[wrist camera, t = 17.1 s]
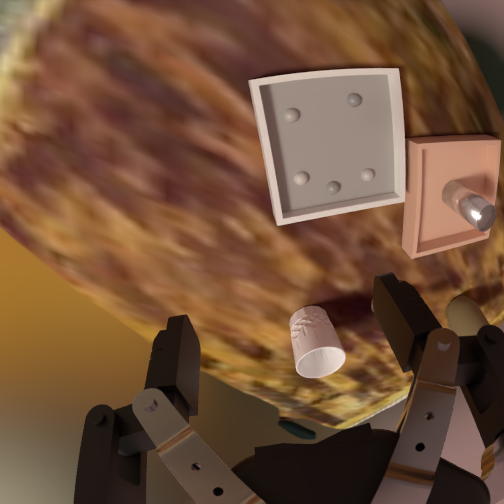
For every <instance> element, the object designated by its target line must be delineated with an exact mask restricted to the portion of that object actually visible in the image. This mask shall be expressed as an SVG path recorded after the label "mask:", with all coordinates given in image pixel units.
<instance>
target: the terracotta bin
mask: <svg viewBox="0 0 504 504" xmlns="http://www.w3.org/2000/svg"><path fill="white" fill-rule="evenodd" d="M500 150H501V140H499V139H497V138H494V137H492V136H489V135H448V136H429V137H414V138H405V202H404V222H403V237H402V248H403V249H404V251H405V252H406V253H407V254H408V255H409V256H410V258H411V259H413V258H417V257H421V256H425V255H429V254H432V253H436V252H440V251H444V250H447V249H451V248H455V247H458V246H462V245H466V244H469V243H473V242H476V241H480V240H483V239H487V238H489V233H490V228H491V227H490V228H489V229H488V230H487V231H485V232H479V231H478V230H477V229H476V228H475V227H473V226H472V225H471V224H470V223H469V222H467V221H466V220H465V219H464V218H462V217H461V216H460V215H459V214H457V213H456V212H455V211H453V210H452V209H451V208H450V207H448V206H447V205H446V204H444V202H443V201H442V190H443V188H444V186H445V184H446V183H447V182H449V181H451V180H456V181H458V182H460V183H461V184H463V185H465V186H466V187H468V188H469V189H471V190H472V191H474V192H475V193H477V194H478V195H480V196H481V197H483V198H484V199H486V200H487V201H489V202H490V203H492V204H493V205H495V199H496V192H497V184H498V175H499V164H500Z"/></svg>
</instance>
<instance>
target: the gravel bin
mask: <svg viewBox="0 0 504 504" xmlns="http://www.w3.org/2000/svg"><path fill="white" fill-rule="evenodd" d="M248 83H249V88H250V93H251V98H252V103H253V108H254V112H255V117H256V122H257V127H258V133H259V138H260V143H261V148H262V153H263V158H264V164H265V169H266V174H267V180H268V185H269V191H270V196H271V202H272V207H273V213H274V217H275V220H276V223H277V226H279V225H284V224H289V223H294V222H299V221H304V220H310V219H315V218H320V217H325V216H330V215H336V214H341V213H346V212H351V211H357V210H362V209H368V208H373V207H378V206H384V205H389V204H395V203H401V202H405V133H404V116H403V103H402V93H401V83H400V75H399V68H361V69H339V70H324V71H313V72H303V73H294V74H286V75H279V76H272V77H266V78H259V79H254V80H249V81H248Z"/></svg>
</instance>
